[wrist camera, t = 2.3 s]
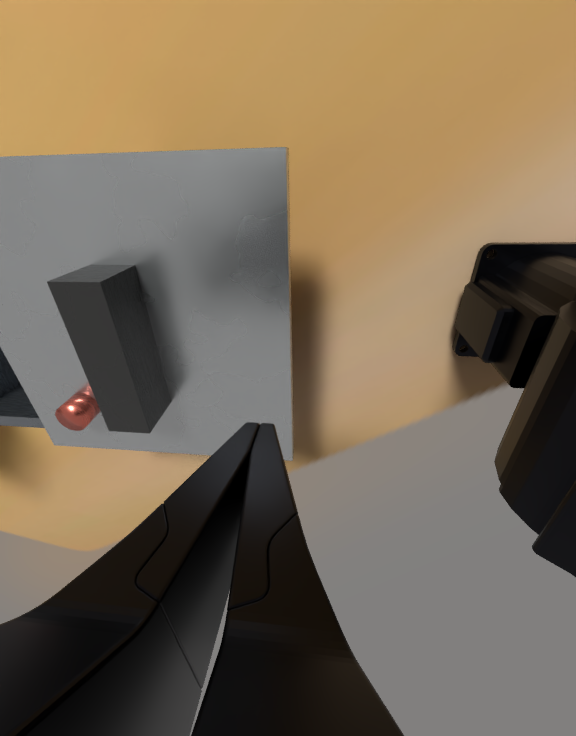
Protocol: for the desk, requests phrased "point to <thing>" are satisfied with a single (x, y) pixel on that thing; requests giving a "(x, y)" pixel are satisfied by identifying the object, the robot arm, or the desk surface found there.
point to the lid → (149, 295)
